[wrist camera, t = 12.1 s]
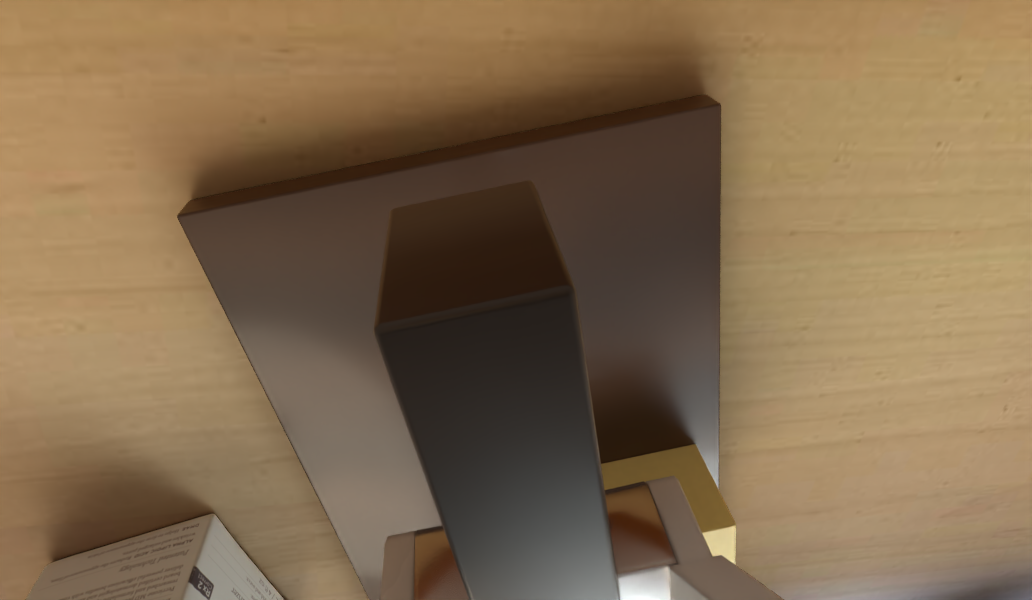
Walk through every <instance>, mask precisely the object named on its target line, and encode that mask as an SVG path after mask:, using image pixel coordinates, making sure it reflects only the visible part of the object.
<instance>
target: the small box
mask: <svg viewBox="0 0 1032 600" xmlns="http://www.w3.org/2000/svg"><path fill="white" fill-rule="evenodd" d="M25 600H284V599H283V597H282V596H281V595H280V594H279V593H278V592H277V591H276V589H275V588H274V587H273V586H272V585H271V583H270V582H269V581H268V580H267V579H266V577H265V576H264V575H263V574H262V573H261V572H260V570H259V569H258V568H257V567H256V565H255V564H254V563H253V562H252V561H251V560H250V558H249V557H248V556H247V555H246V554H245V552H244V551H243V550H242V549H241V548H240V546H239V545H238V544H237V543H236V541H235V540H234V539H233V537H232V536H231V535H230V534H229V532H228V531H227V530H226V529H225V527H224V526H223V524H222V523H221V521H220V520H219V519H218V518H217V516H216V515H215V514H209V515H205V516H202V517H198V518H195V519H192V520H188V521H184V522H181V523H178V524H175V525H172V526H168V527H165V528H162V529H158V530H155V531H152V532H149V533H145V534H142V535H139V536H136V537H132V538H129V539H126V540H123V541H119V542H116V543H113V544H110V545H107V546H103V547H100V548H97V549H93V550H90V551H87V552H83V553H80V554H76V555H73V556H70V557H67V558H64V559H61V560H58V561H55V562H52V563H50V564H48V565H46V566H45V568H44V569H43V571H42V572H41V574H40V576H39V578H38V579H37V581H36V582H35V584H34V586H33V588H32V589H31V591H30V593H29V594H28V596H27V598H26V599H25Z"/></svg>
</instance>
